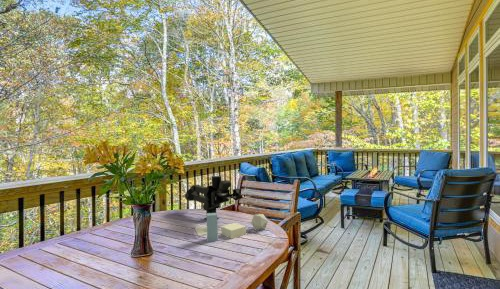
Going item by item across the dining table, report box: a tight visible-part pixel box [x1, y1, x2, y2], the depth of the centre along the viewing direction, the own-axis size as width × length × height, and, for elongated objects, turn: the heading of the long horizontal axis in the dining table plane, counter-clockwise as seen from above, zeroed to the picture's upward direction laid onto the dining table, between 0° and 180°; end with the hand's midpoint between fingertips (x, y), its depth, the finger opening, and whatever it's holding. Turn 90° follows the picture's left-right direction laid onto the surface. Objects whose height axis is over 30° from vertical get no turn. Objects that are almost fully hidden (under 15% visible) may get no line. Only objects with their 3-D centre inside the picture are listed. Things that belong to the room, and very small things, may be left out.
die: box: [250, 213, 269, 231], centre depth 156 cm, size 8×9×10 cm
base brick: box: [220, 222, 247, 240], centre depth 149 cm, size 9×9×4 cm
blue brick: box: [206, 212, 219, 242], centre depth 142 cm, size 4×5×12 cm
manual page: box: [194, 226, 207, 236], centre depth 156 cm, size 12×9×1 cm
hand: (235, 198), depth 157 cm, fingers open, 9 cm apart
